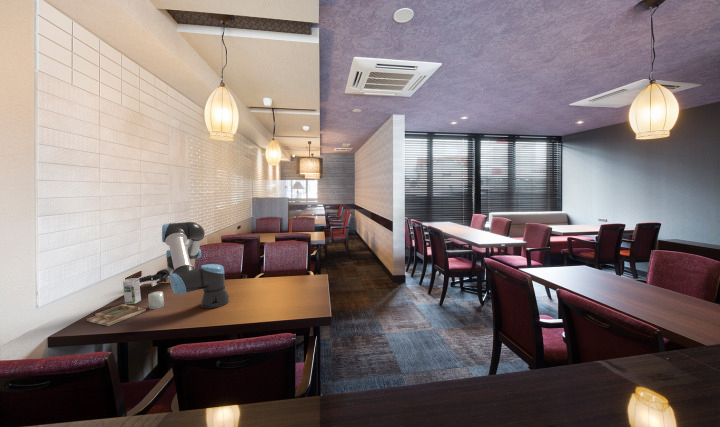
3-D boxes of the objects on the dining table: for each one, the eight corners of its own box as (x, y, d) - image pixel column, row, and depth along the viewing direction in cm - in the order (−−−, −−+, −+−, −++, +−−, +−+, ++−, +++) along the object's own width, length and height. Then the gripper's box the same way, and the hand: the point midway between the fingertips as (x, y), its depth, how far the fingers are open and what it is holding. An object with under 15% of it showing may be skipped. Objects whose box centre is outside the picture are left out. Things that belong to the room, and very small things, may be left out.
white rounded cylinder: (166, 305, 166) (165, 292, 165) (154, 310, 160) (153, 296, 159) (158, 303, 169) (157, 290, 168) (146, 308, 162) (145, 295, 161)
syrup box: (124, 304, 168) (122, 281, 167) (132, 300, 174) (129, 278, 173) (134, 304, 169) (131, 280, 167) (141, 300, 174) (139, 277, 173)
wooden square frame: (146, 311, 159) (145, 305, 158) (108, 326, 142) (107, 320, 141) (125, 307, 165) (124, 301, 164) (87, 321, 148) (86, 315, 148)
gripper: (182, 278, 200) (161, 289, 179) (148, 279, 200) (122, 290, 179) (181, 268, 199) (160, 278, 178) (146, 269, 199) (121, 279, 178)
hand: (141, 284), depth 179 cm, fingers open, 13 cm apart
